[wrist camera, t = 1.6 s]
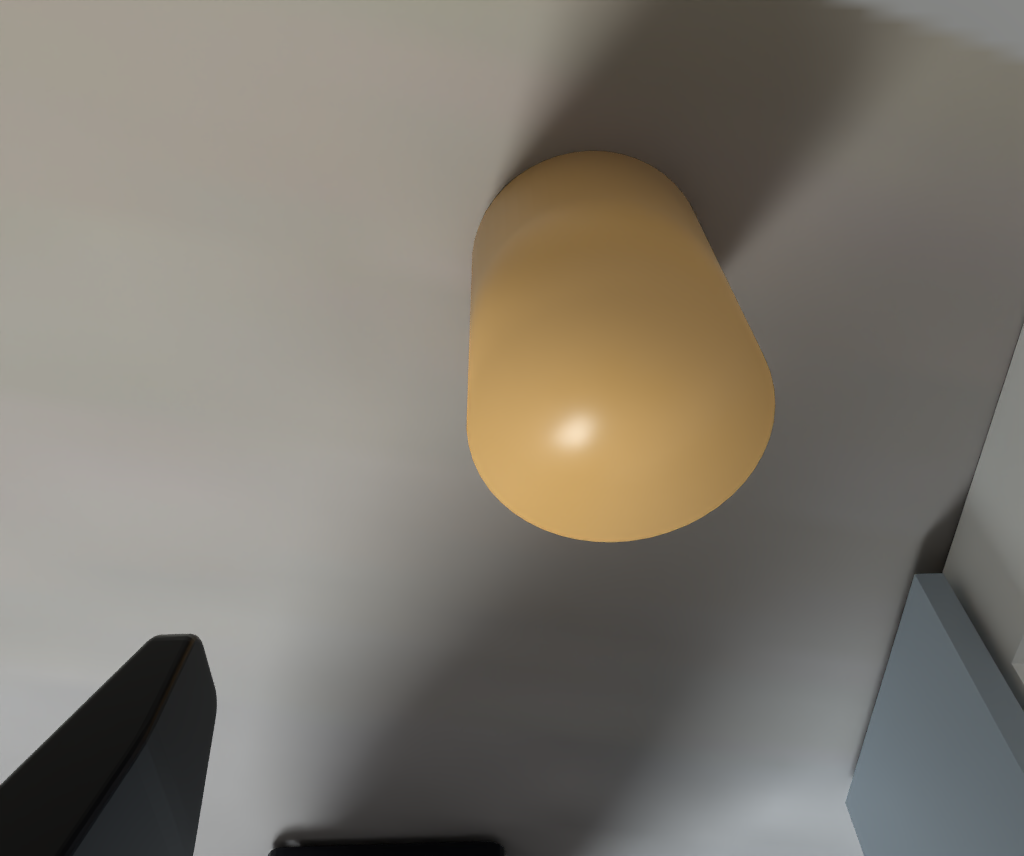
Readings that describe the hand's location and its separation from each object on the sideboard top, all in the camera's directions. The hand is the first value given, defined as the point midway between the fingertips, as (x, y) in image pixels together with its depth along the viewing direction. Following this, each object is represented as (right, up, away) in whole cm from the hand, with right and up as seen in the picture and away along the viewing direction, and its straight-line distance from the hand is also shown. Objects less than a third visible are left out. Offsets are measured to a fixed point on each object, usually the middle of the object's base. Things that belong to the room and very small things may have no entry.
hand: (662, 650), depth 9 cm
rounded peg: (0, +5, +7) cm, 9 cm away
